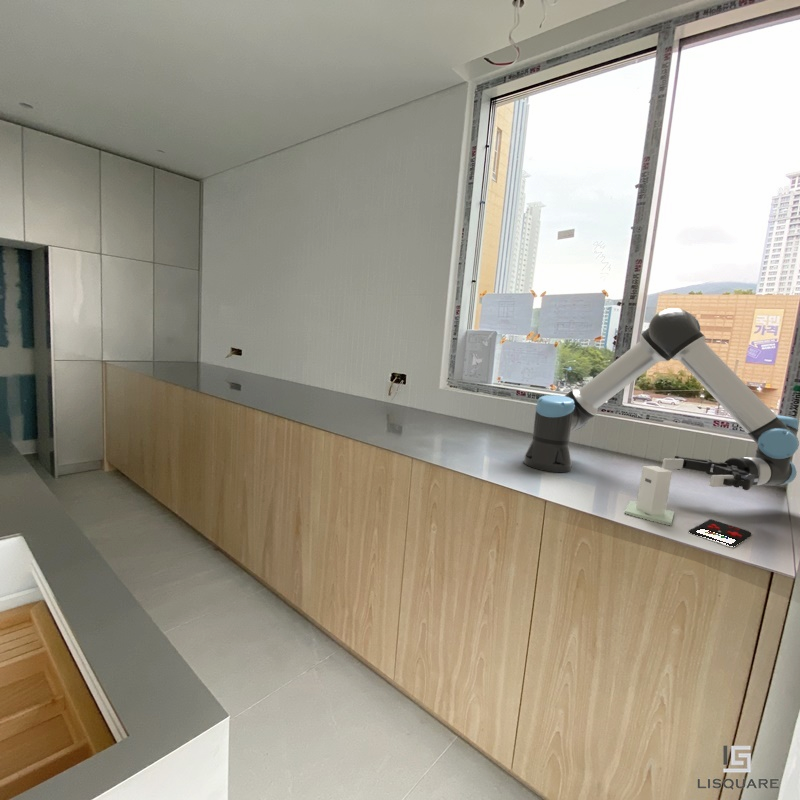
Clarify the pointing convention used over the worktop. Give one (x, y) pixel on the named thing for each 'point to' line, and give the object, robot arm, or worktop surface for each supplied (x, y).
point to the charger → (653, 490)
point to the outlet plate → (662, 518)
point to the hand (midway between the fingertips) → (686, 471)
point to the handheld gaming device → (722, 531)
